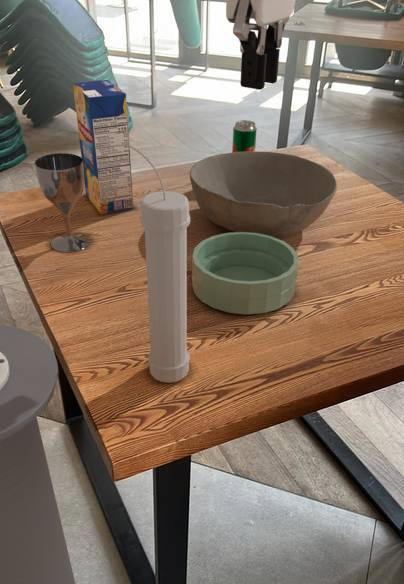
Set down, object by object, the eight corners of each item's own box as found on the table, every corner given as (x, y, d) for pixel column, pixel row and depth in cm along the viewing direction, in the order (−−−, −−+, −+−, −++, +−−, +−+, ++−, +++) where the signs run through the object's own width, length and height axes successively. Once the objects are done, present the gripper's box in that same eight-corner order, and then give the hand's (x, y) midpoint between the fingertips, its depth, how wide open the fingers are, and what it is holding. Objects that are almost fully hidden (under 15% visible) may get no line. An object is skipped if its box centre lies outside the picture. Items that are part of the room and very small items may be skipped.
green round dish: (224, 328, 85) (226, 294, 81) (175, 277, 96) (174, 244, 92) (314, 300, 91) (320, 267, 87) (258, 255, 102) (260, 224, 99)
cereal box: (101, 214, 115) (89, 97, 101) (85, 194, 122) (72, 83, 108) (133, 209, 117) (126, 93, 103) (116, 189, 125) (107, 79, 111)
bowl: (190, 255, 102) (190, 202, 96) (188, 193, 124) (188, 146, 117) (342, 255, 103) (353, 202, 97) (314, 193, 125) (321, 146, 118)
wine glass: (63, 229, 109) (51, 150, 100) (100, 237, 107) (91, 157, 97) (39, 248, 103) (24, 165, 94) (78, 256, 101) (66, 173, 92)
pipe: (189, 385, 75) (189, 155, 56) (141, 384, 75) (126, 154, 56) (190, 358, 79) (191, 137, 60) (145, 357, 79) (132, 136, 60)
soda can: (241, 183, 128) (245, 128, 121) (226, 176, 131) (228, 122, 124) (257, 178, 131) (261, 123, 123) (242, 171, 134) (245, 118, 126)
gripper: (272, -97, 70) (261, 68, 81) (203, -97, 59) (201, 94, 70) (330, -96, 67) (310, 76, 78) (268, -95, 56) (255, 104, 67)
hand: (258, 83), depth 74 cm, fingers closed
